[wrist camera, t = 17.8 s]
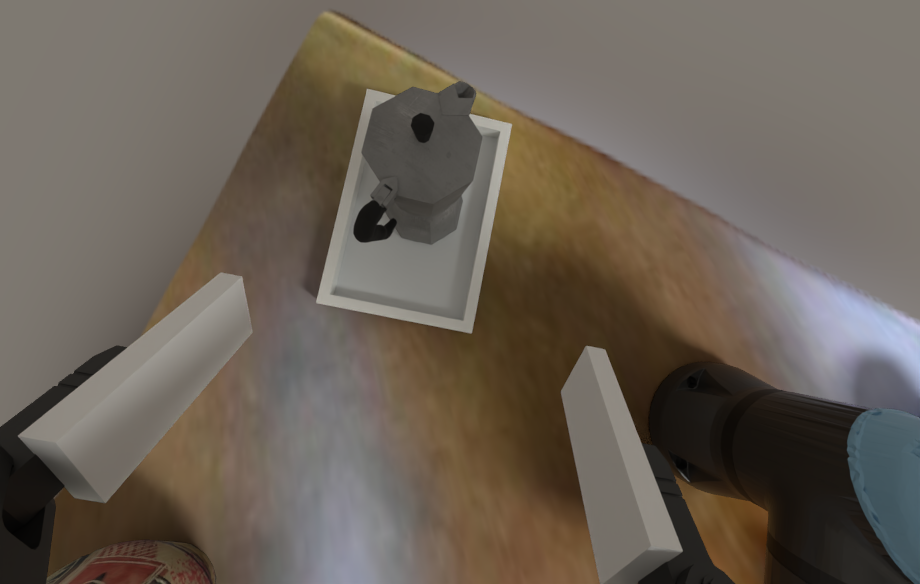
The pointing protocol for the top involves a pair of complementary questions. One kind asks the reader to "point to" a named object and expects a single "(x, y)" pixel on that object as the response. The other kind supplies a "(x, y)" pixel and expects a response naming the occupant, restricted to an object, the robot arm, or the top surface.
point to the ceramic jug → (139, 565)
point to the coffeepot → (419, 163)
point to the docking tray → (415, 244)
